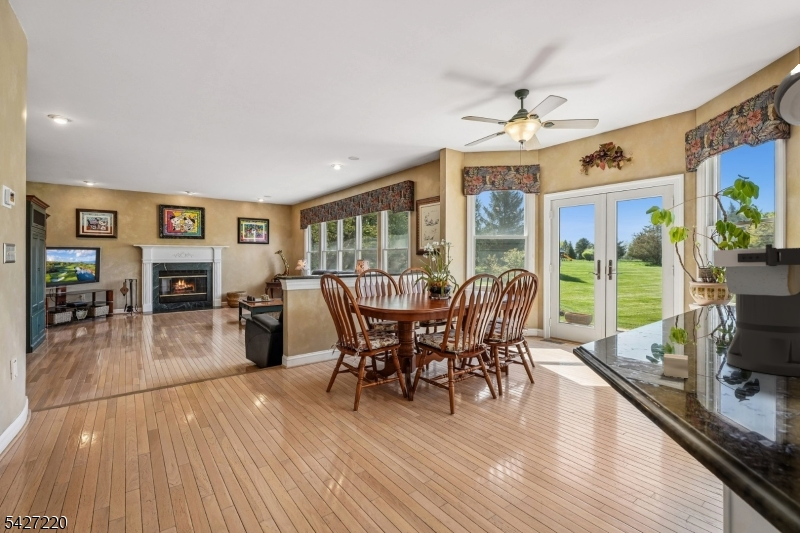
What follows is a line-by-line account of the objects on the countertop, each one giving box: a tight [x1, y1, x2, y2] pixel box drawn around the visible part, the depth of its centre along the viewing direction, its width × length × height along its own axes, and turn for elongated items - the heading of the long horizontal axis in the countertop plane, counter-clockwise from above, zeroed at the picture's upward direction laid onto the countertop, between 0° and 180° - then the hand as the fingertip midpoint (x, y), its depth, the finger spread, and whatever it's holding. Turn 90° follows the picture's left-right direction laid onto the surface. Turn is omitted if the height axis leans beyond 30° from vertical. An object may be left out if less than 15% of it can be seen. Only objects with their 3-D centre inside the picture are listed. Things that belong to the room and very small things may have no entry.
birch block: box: [663, 353, 689, 379], centre depth 78 cm, size 4×4×4 cm
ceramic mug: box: [725, 248, 800, 296], centre depth 62 cm, size 11×8×8 cm
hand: (723, 258), depth 65 cm, fingers closed on ceramic mug, 7 cm apart
